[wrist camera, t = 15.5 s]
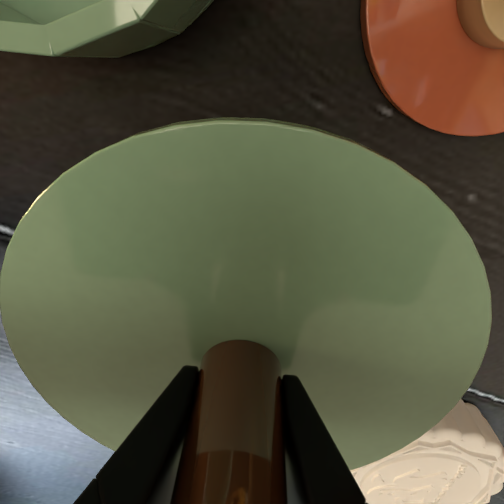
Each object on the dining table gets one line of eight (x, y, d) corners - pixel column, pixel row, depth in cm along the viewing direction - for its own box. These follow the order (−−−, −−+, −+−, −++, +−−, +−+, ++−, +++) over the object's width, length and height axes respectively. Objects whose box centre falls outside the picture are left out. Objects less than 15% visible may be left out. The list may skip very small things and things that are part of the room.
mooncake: (342, 378, 22) (354, 431, 19) (517, 395, 22) (558, 450, 19) (309, 471, 28) (314, 522, 25) (447, 484, 28) (469, 536, 25)
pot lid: (389, 469, 14) (451, 679, 9) (71, 440, 14) (-30, 639, 9) (574, 145, 7) (1182, 312, 2) (-49, 82, 7) (-714, 126, 2)
